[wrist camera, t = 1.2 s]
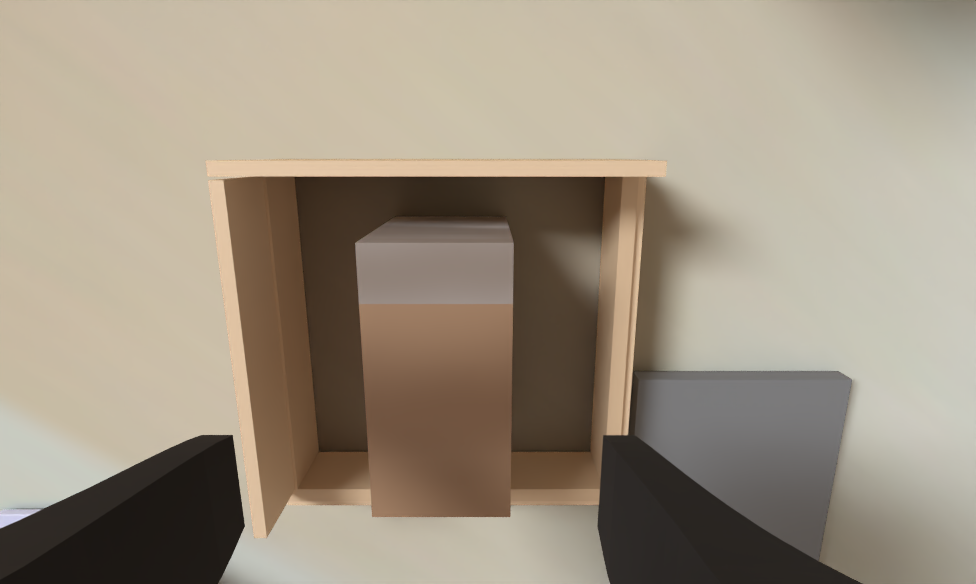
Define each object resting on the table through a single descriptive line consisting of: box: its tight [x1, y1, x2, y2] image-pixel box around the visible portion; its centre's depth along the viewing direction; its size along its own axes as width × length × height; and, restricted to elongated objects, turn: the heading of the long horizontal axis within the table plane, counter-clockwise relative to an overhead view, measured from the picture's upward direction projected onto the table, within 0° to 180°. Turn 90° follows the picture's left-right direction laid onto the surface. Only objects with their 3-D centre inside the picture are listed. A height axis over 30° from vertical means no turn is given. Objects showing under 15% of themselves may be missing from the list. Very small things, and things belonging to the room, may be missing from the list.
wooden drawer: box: [206, 159, 667, 538], centre depth 18 cm, size 12×12×5 cm
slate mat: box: [628, 371, 852, 561], centre depth 22 cm, size 12×8×1 cm, turn 0°
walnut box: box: [355, 216, 514, 517], centre depth 17 cm, size 8×4×6 cm, turn 0°
